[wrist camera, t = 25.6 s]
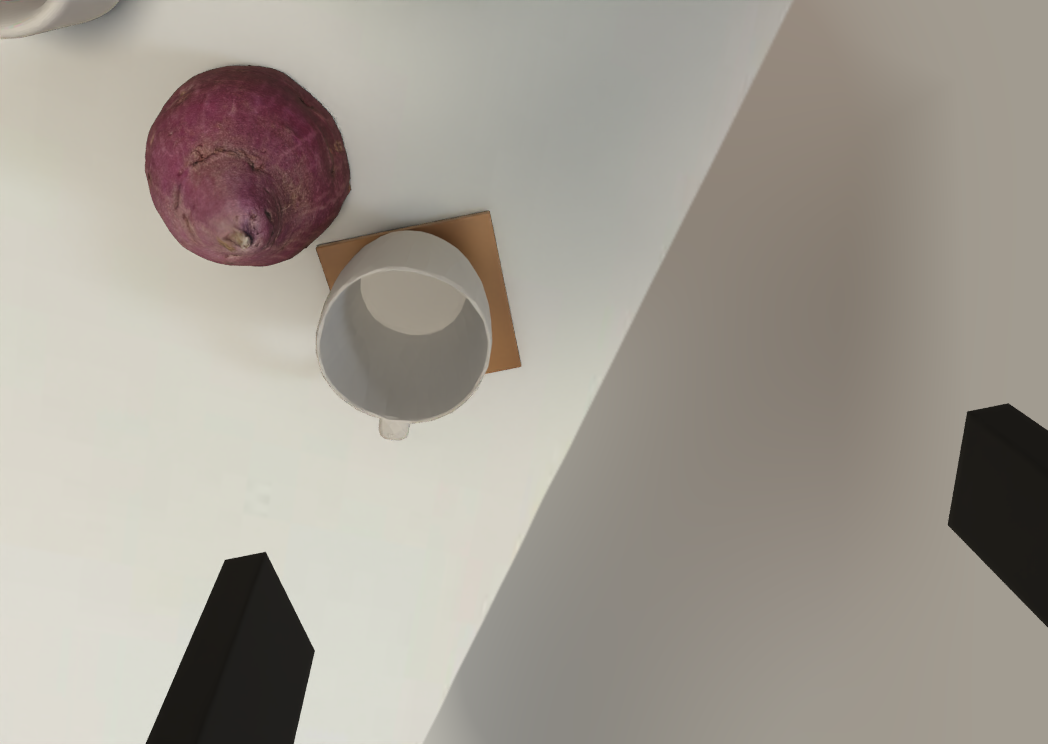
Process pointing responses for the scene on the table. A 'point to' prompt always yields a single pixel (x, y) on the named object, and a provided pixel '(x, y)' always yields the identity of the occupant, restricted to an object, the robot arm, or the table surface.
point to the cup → (47, 15)
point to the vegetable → (246, 166)
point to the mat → (481, 251)
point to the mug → (405, 331)
